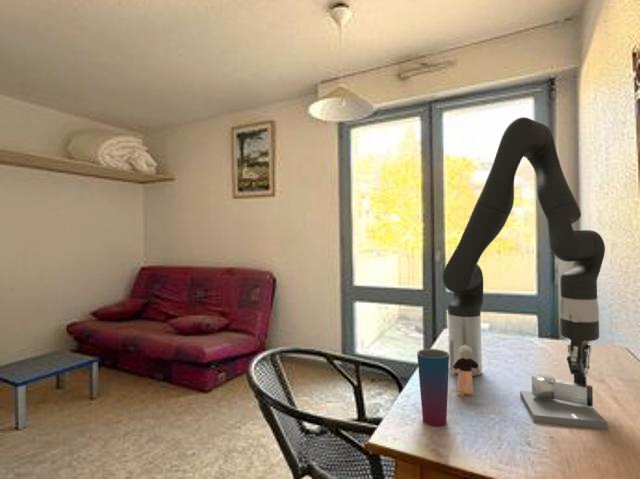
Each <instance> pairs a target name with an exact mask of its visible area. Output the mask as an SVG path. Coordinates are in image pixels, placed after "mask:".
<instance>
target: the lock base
mask: <svg viewBox="0 0 640 479" xmlns="http://www.w3.org/2000/svg"><path fill="white" fill-rule="evenodd" d="M519 393H520V394H519V395H520V399H521V400H522V403H523V405H524V406H525V408H526V410H527V412H528V413H529V415H530V417H531V419H532V422H534V423H541V424H542V423H544V424H550V425H551V424H552V425H562V426H563V425H565V426H571V427H572V426H574V427H581V428H590V429H591V428H592V429H599V430H601V429H602V430H603V429H604V430H608V422H607V421H606V419H605V418H604V417H603V416H602V415H601V414H600V413H599V412H598V411H597V410H596V408H595V407H594V406H586V405H581V404H576V403H571V402H566V401H562V400H557V399H552V400H547V399H541V398H538V397H535V396H534V395H532V391H525V390H520V391H519Z"/></svg>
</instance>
